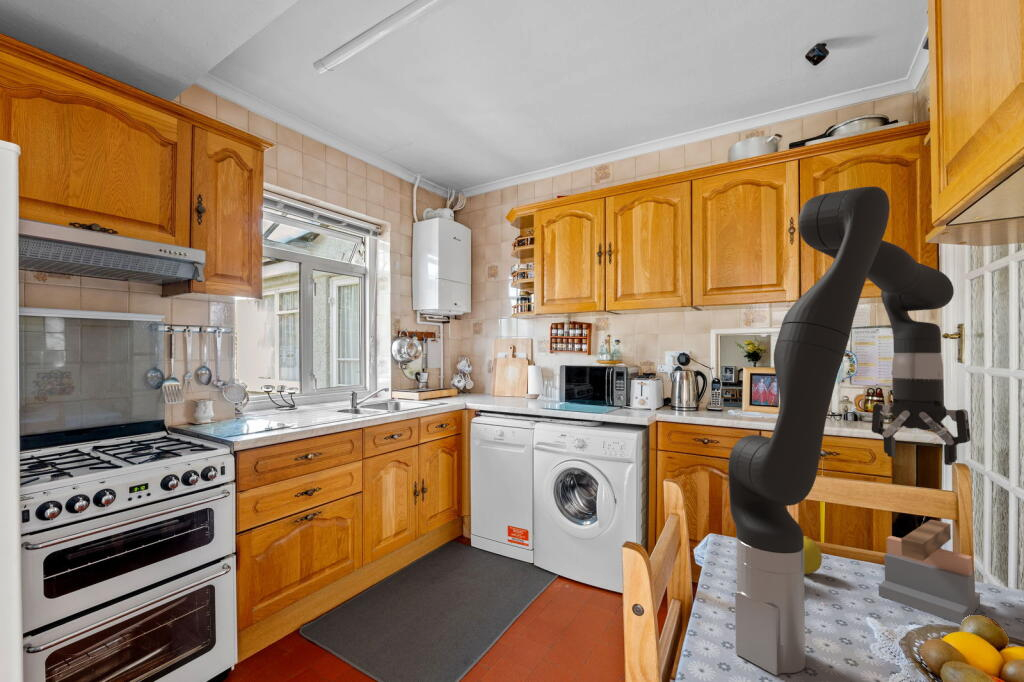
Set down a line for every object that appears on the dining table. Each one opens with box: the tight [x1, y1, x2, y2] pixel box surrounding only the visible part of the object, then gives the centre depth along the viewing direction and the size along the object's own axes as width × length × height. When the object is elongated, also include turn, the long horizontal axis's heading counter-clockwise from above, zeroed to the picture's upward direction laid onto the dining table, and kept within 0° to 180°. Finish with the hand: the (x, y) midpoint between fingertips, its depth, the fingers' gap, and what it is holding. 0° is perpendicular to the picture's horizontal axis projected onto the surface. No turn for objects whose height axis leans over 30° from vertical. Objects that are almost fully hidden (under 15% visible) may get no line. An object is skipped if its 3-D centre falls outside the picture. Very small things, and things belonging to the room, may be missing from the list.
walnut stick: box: [901, 519, 952, 561], centre depth 89 cm, size 18×3×3 cm, turn 125°
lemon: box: [803, 535, 823, 576], centre depth 99 cm, size 6×6×8 cm
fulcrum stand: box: [878, 535, 981, 625], centre depth 89 cm, size 12×12×10 cm
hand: (918, 460), depth 90 cm, fingers open, 8 cm apart
